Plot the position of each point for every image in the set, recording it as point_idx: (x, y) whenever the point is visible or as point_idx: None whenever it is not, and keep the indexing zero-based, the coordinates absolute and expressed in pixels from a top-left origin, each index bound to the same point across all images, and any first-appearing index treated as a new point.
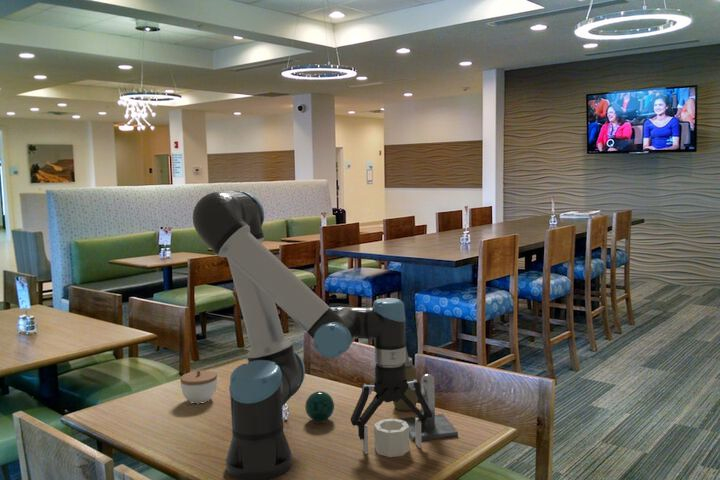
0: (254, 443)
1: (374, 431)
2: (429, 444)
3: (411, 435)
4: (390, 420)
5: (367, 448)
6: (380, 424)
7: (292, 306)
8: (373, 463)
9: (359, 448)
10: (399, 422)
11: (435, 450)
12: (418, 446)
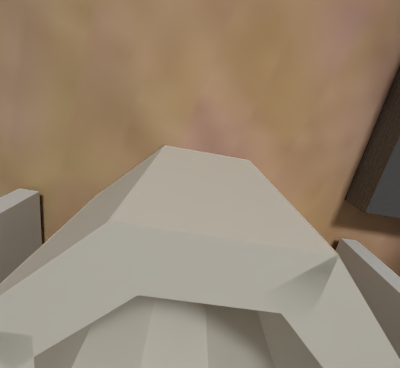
0: None
1: (30, 256)
2: (396, 262)
3: (374, 190)
4: (244, 292)
5: (16, 268)
6: (54, 341)
7: None
8: None
9: (3, 158)
10: (324, 364)
11: None
12: None
